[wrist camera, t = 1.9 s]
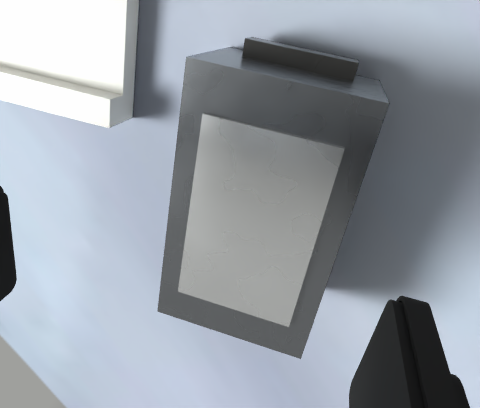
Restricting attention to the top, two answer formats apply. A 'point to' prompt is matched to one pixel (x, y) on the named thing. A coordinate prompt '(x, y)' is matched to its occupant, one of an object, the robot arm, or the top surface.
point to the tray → (70, 57)
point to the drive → (264, 187)
